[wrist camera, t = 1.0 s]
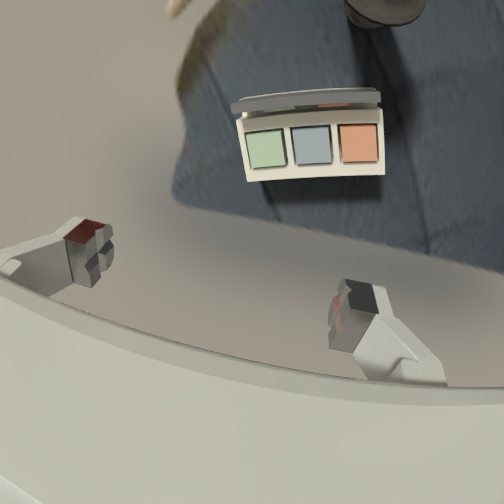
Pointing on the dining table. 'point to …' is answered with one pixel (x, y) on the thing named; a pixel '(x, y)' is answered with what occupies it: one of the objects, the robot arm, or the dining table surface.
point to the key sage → (266, 148)
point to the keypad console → (311, 114)
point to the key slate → (312, 144)
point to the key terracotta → (358, 142)
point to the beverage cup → (383, 12)
